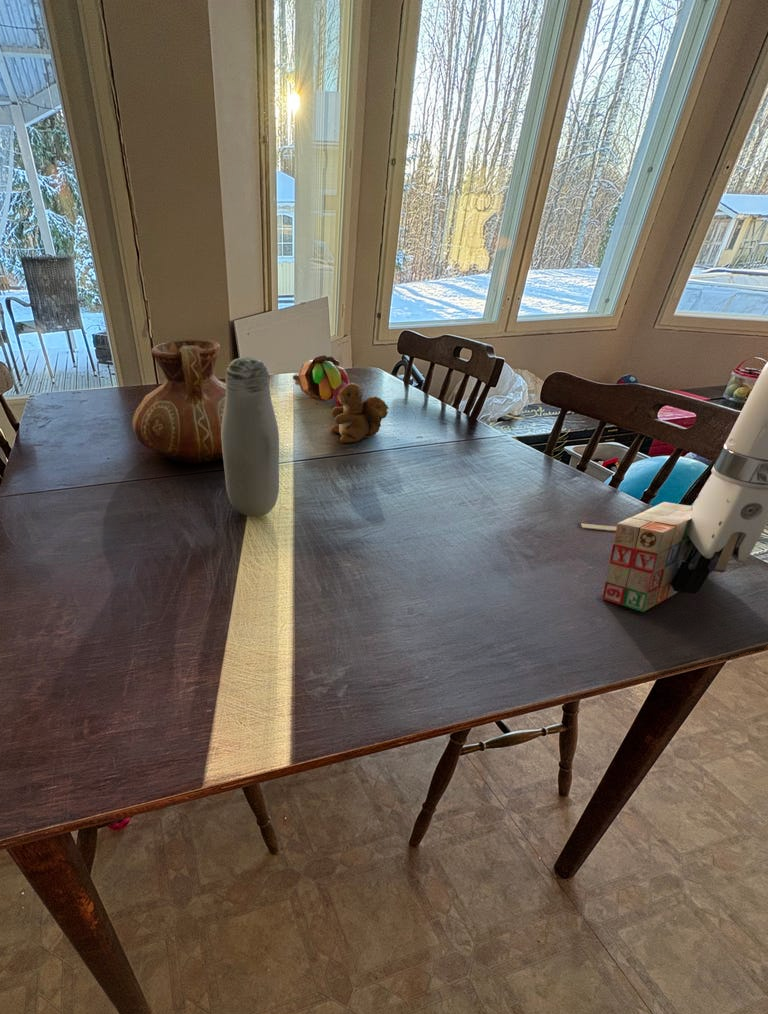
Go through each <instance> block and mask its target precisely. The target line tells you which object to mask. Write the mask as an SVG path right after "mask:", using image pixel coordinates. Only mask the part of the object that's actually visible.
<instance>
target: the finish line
mask: <svg viewBox="0 0 768 1014" xmlns="http://www.w3.org/2000/svg"><path fill="white" fill-rule="evenodd" d="M580 525H581V527H582V529H589V530H599V531H607V532H609V531H610V532H616V529H617V526H614V525H603V524H594V523H592V524H591V523H582V522H581V524H580Z"/></svg>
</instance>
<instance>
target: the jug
mask: <svg viewBox="0 0 768 1014" xmlns="http://www.w3.org/2000/svg"><path fill="white" fill-rule="evenodd" d="M220 350H221V344H220V343H219V342H218V341H214V340H212V339H211V340H210V339H191V338H190V339H177V340H170V341H166V342H163V343H158V344H156V345H154V346H153V347H152V348H151V350H150V352H151V355H152V356H153V358H154V360H155V361H156V363H157V364H158V365H159V367H160V369H161V371H162V373H163V375H164V378H165V380H164V382H163V384H161V385H159V386H158V387H156V388H155V389H154V390H152V391H151V392H149V393H147V394H146V395H145V396H144V397H143V399H142V400H141V402H139V405H138V406H137V408H136V409H135V411H134V414H133V417H132V419H131V425H132V429H133V431H134V434H135V437H136V439H137V440H138V441H139V442H140V443H141V444H142V446H144V447H145V448H147V449H150V451H152V452H154V453H157V454H159V455H160V456H162V457H164V458H166V459H169V460H171V461H175V462H178V463H183V464H203V463H204V464H205V463H210V462H215V461H218V460H221V459H223V452H222V441H221V427H222V419H223V414H224V408H225V398H226V382H224V381H222V380H221V379H220V380H219V379H218V378H217V377H216V376H215V366H216V363H217V360H218V355H219V353H220Z"/></svg>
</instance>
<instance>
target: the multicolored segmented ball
mask: <svg viewBox="0 0 768 1014" xmlns="http://www.w3.org/2000/svg"><path fill="white" fill-rule="evenodd" d="M292 380H293V381H294V383H295V385H296V386H299V387H300V390H301V392H303V393H305V395H307V396H308V397H310V398H311V397H313V398H315V399H317V400H323V401H329V400H332V399H333V400H334V401H335V404H336V407H341V406H344V405H343V404H342V403H341V402H340V401H339V398H338V400H337V396H339V395H338V394H339V392H340V390H341V389H343V388H344V387H345V386H346V385H348V384H350V379H349V375H348V373H347V372H346V369H345V368H343V367H341V366H340V361H339V360H337V359H335V358H334V357H333V356H327V355H325V354H324V355H318V356H317V357H314V358H313V359H309V360H307V361H305V362H304V363H303V364H302V366H301V369H300V371H299V373H298V374H294V375H292ZM336 400H337V401H336Z"/></svg>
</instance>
